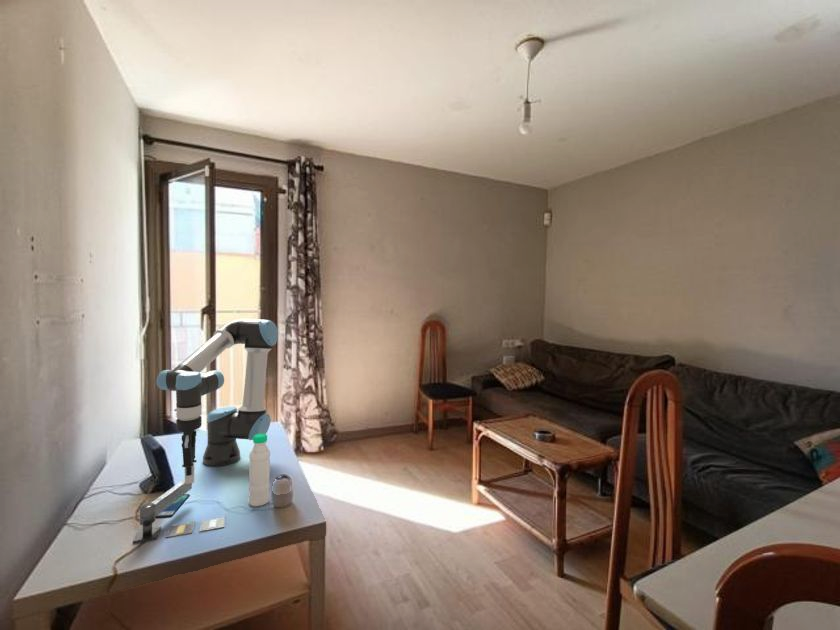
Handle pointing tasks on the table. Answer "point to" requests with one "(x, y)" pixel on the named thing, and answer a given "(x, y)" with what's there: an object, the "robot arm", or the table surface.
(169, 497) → the rail
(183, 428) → the robot arm
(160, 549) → the table surface
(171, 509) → the smartphone
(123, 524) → the table surface
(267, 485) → the water bottle
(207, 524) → the label plate dark grey
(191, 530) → the label plate ochre
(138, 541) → the dark grey square block
